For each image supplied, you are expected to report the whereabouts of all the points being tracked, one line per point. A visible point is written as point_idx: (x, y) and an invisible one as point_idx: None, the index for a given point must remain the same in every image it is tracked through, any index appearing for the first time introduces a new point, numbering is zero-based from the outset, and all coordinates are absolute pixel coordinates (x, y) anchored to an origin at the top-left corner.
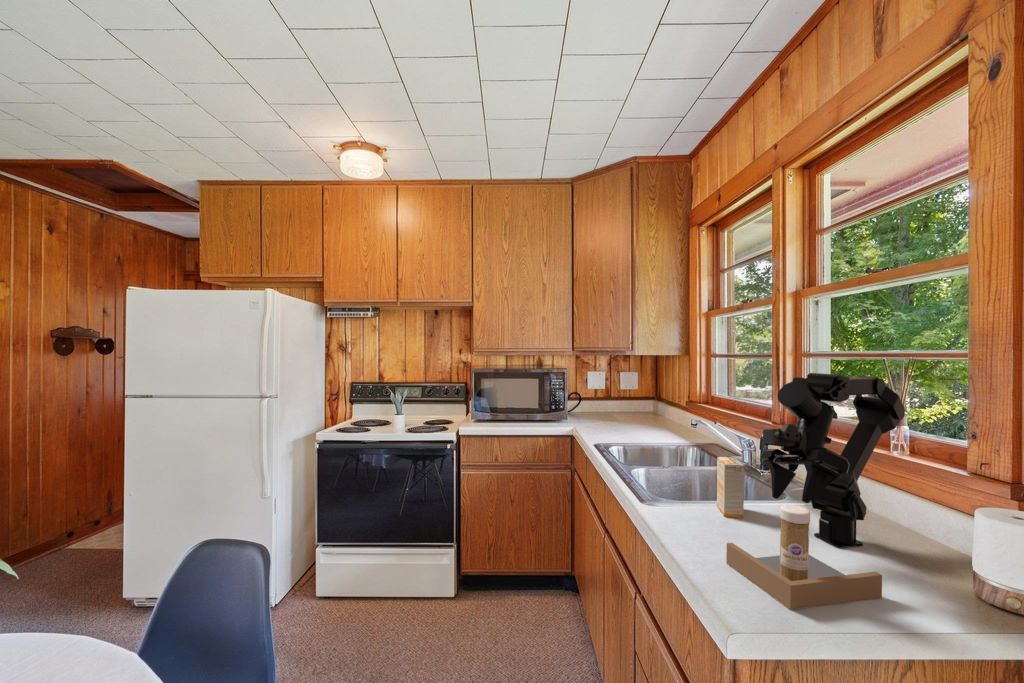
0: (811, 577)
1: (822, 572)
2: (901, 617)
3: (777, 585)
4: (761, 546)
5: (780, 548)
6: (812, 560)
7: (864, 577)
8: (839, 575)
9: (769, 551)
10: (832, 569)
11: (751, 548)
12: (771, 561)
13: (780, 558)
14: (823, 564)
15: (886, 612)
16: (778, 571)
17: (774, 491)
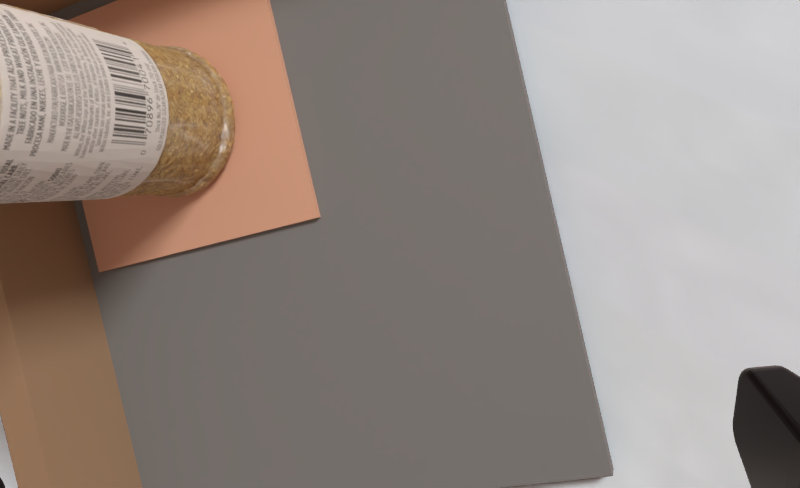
0: (264, 281)
1: (326, 390)
2: (4, 472)
3: None
4: (783, 211)
5: (36, 13)
6: (487, 440)
7: (15, 459)
8: (297, 466)
9: (681, 230)
10: (368, 481)
11: (739, 106)
12: (461, 138)
13: (93, 29)
14: (433, 474)
15: None
16: (324, 115)
17: (784, 430)
